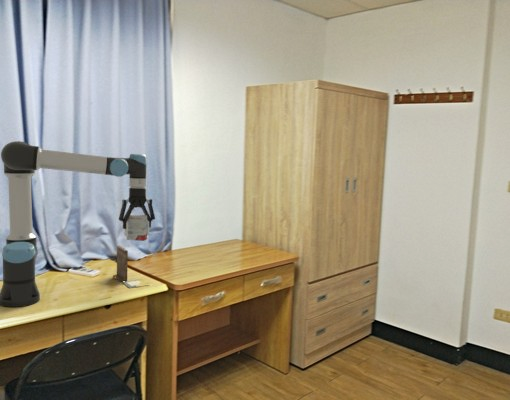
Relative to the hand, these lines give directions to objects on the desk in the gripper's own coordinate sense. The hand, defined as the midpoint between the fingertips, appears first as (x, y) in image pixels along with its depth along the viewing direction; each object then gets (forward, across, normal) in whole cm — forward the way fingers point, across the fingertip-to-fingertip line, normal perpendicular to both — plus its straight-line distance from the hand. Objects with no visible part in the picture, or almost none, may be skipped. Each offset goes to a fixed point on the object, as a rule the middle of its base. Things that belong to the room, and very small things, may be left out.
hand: (136, 235), depth 218 cm
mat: (+23, 0, 0) cm, 23 cm away
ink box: (+2, 0, 0) cm, 2 cm away
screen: (+23, -3, +12) cm, 27 cm away
